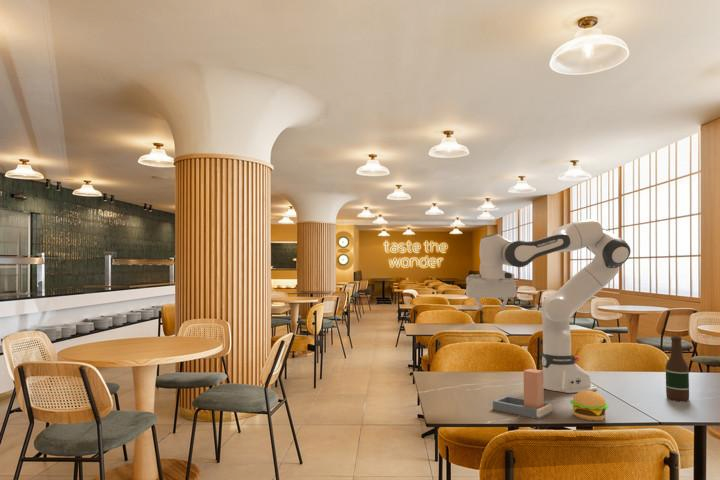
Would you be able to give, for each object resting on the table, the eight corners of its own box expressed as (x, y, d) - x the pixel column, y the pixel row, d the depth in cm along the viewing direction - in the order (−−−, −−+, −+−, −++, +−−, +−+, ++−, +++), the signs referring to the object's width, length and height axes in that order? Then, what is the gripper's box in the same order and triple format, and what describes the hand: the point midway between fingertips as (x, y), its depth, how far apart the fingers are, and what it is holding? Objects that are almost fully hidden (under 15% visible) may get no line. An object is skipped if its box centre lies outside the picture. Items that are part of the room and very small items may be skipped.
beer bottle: (686, 397, 202) (685, 335, 203) (692, 402, 195) (690, 338, 196) (664, 395, 205) (662, 334, 206) (668, 400, 197) (667, 337, 198)
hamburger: (613, 416, 177) (612, 390, 178) (603, 424, 168) (602, 397, 169) (577, 409, 185) (576, 385, 186) (565, 417, 176) (565, 391, 176)
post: (524, 411, 180) (523, 370, 181) (530, 408, 184) (529, 368, 184) (537, 414, 177) (537, 372, 177) (543, 411, 180) (543, 370, 181)
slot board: (492, 409, 185) (492, 401, 185) (506, 403, 193) (506, 395, 193) (540, 419, 173) (539, 410, 173) (552, 412, 181) (552, 404, 181)
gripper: (468, 274, 203) (469, 309, 203) (518, 274, 206) (518, 309, 205) (463, 274, 209) (463, 308, 209) (511, 274, 212) (511, 308, 211)
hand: (491, 308), depth 207 cm, fingers open, 8 cm apart
